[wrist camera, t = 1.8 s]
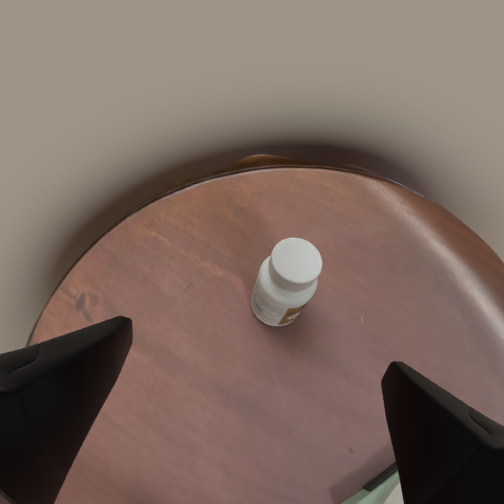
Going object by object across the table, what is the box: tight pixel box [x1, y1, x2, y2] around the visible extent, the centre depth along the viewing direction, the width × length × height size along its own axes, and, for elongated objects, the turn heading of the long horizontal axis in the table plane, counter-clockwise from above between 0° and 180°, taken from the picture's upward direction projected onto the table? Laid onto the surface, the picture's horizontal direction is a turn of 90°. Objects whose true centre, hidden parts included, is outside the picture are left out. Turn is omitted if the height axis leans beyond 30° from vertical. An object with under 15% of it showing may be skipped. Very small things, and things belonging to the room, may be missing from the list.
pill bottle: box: [251, 238, 322, 326], centre depth 22 cm, size 4×4×8 cm
